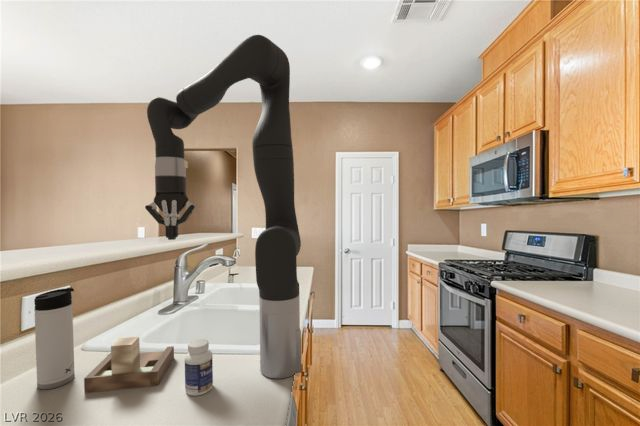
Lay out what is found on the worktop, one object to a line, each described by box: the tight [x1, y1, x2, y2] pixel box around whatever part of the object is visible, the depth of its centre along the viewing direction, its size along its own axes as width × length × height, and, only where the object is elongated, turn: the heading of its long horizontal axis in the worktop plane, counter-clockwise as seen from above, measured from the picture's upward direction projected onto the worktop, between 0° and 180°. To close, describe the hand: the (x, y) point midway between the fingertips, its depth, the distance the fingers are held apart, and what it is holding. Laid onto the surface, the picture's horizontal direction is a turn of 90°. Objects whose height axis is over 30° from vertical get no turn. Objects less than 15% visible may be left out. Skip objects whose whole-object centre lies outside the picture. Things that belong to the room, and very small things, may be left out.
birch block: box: [110, 336, 141, 375], centre depth 68 cm, size 4×4×7 cm
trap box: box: [83, 345, 175, 394], centre depth 71 cm, size 14×12×3 cm
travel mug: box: [33, 286, 76, 390], centre depth 68 cm, size 6×7×20 cm
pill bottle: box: [184, 338, 214, 397], centre depth 65 cm, size 5×5×10 cm
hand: (172, 239), depth 85 cm, fingers closed
